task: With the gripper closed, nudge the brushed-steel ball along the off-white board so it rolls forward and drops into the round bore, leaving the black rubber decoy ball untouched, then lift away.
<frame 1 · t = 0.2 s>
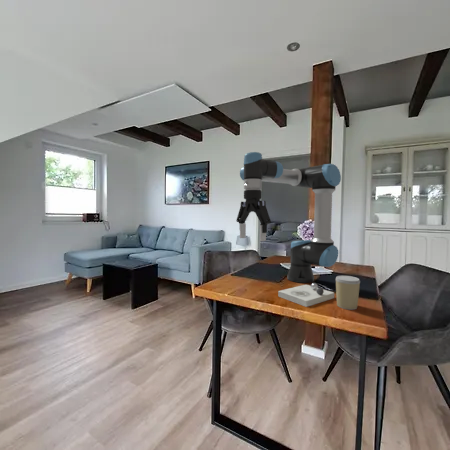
hand: (252, 239, 110), 28 cm above the table, fingers open, 13 cm apart
steel ball: (314, 286, 122), point 4 cm above the table, touching board
coffee cup: (346, 306, 108), on the table
decoy ball: (320, 291, 115), point 4 cm above the table, touching board
board: (306, 297, 119), on the table
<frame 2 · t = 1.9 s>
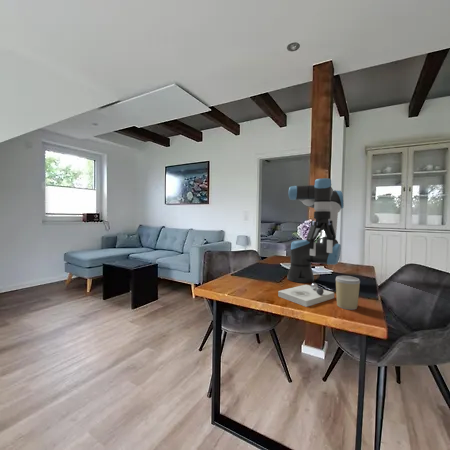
hand: (321, 254, 125), 19 cm above the table, fingers open, 13 cm apart
nothing on the table moved.
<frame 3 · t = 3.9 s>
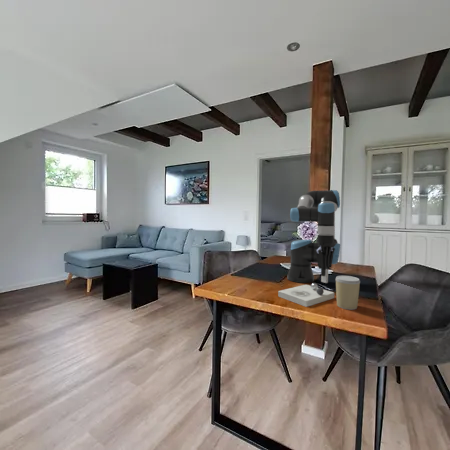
hand: (324, 282, 126), 5 cm above the table, fingers closed
nothing on the table moved.
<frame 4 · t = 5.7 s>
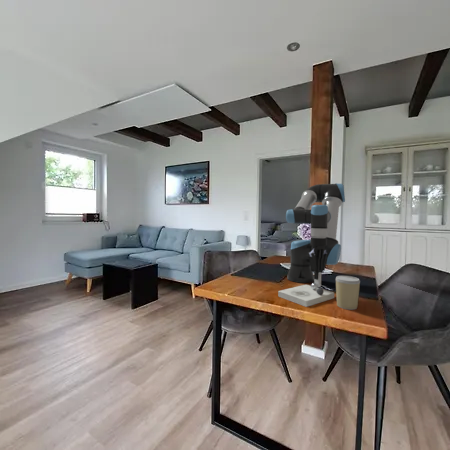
hand: (317, 285, 123), 4 cm above the table, fingers closed
nothing on the table moved.
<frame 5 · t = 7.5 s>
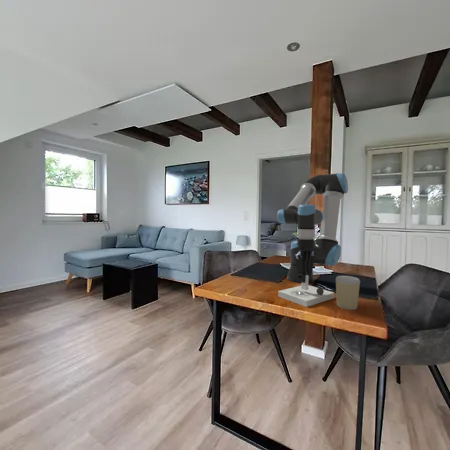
hand: (304, 289, 118), 4 cm above the table, fingers closed
steel ball: (300, 295, 117), point 2 cm above the table, tilted 11°
everything else where it was.
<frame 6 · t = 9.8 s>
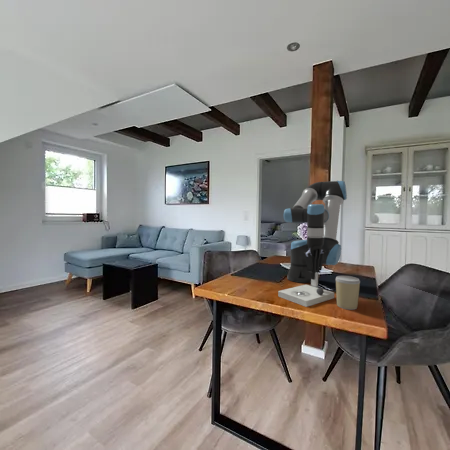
hand: (314, 285, 122), 4 cm above the table, fingers closed
steel ball: (300, 295, 116), point 2 cm above the table, tilted 38°
everything else where it was.
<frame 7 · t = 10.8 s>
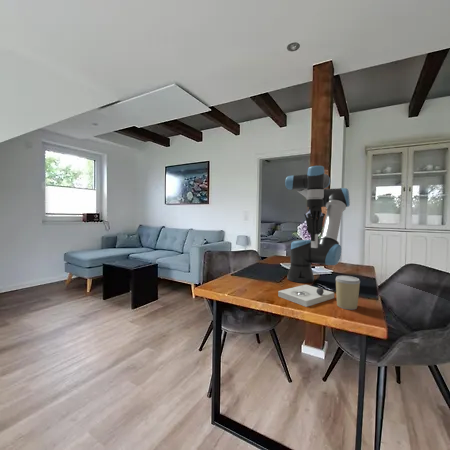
hand: (314, 247, 124), 22 cm above the table, fingers closed
nothing on the table moved.
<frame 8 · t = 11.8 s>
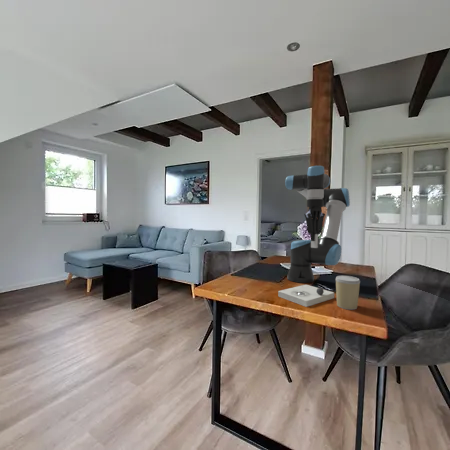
hand: (314, 247, 124), 22 cm above the table, fingers closed
nothing on the table moved.
at the end: steel ball 0.7 cm from the target spot in the board, point 1.6 cm above the board's base; decoy ball moved 0.0 cm from its start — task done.
